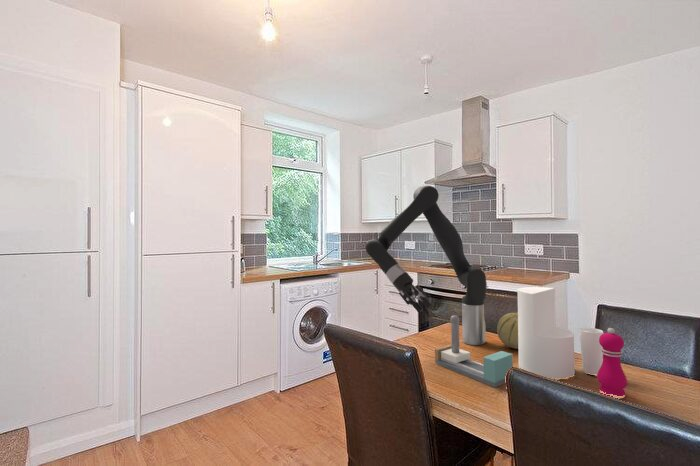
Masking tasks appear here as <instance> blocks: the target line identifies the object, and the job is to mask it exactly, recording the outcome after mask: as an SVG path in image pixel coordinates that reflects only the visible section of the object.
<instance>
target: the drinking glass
mask: <svg viewBox="0 0 700 466" xmlns="http://www.w3.org/2000/svg"><path fill="white" fill-rule="evenodd" d="M603 333H604V331H603V330H602V329H599V328H595V327H594V328H593V327H581V328H580V329H579V343H580V345H579V346H580V353H581V361H582V372H583V371H584V372H586V373H590V374H598V371H599V369H600V367H601V365H602V363H603V354H602V353H601V351H602V350H601V348H603V347H602V346H601V345H600V343H599V337H600V336H601V335H602V334H603ZM584 372H583V373H584Z"/></svg>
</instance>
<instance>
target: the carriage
mask: <svg viewBox="0 0 700 466" xmlns="http://www.w3.org/2000/svg"><path fill="white" fill-rule="evenodd" d="M460 319H461V318H460V317H459V316H458V315H456V314H454V315H453V314H452V315H451V316H450V319H449V320H450V331H451V332H450V333H451V336H450V337H451V338H450V339H451V341H450V342H451V343H450V344H451V345H452V348H451V349H448V350H444V351H441V358H444V359H446V360H449V361H452V362H454V363H458V362H461V361H464V360H467V359H470V360H471V352H470V351H467V350H465V349H461V348H460V321H461V320H460Z"/></svg>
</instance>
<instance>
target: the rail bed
mask: <svg viewBox="0 0 700 466" xmlns="http://www.w3.org/2000/svg"><path fill="white" fill-rule="evenodd" d="M451 348H452V345H451V343H450V344H446V345H443V346H440V347H436V348H434V362H435V363H434V364H436V365H439V366H441V367H443V368H446V369H448V370H451V371H453V372H455V373H458V374H461V375H463V376H466V377H468V378H471V379H472V380H476V381H477V382H480V383H483V384H485V385H487V386H490V387H492V388H497V387H500V386H501V385H504V384H506V383H505V376H506V373H507V371H508V370H509V369H510V368H511V367H513V368H514V366H513V365H514V364H513V354H512V353H510V352H507V351H503V350H500V351H497V352H495V353H492V354H489V355H488V354H487V355H485V356H483V359H482V360H483V363H480V362H478V361H475V360H472V359H471V358H470V359H467V360H464V361H461V362H458V363H454V362H452V361H449V360H446V359H444V358H441V351H444V350H448V349H451Z"/></svg>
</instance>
